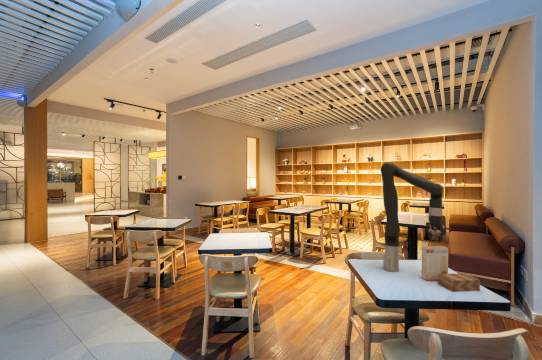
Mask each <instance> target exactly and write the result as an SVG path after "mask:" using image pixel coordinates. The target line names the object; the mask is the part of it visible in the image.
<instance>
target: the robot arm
mask: <svg viewBox="0 0 542 360" xmlns="http://www.w3.org/2000/svg"><path fill="white" fill-rule="evenodd" d="M380 173H381V178H382V193H383V194H382V195H383V207H384V210H385V215H386V223H385V226H384V254H383V256H382V257H383V258H382V260H383V263H382V269H384V270H385V271H387V272H399V270H400V238H399V237H400V233H401V227H400V221H399V198H398V197H399V196H398V191H397V188H396V185H395V180H394V179H395V178H394V177H396V178H399V179H401V180H402V181H405V182H407V183H408V184H410V185H411V186H414V187H417V188H419V189H421V190H424V191H425V192H427V193H430V198H429V201H428V203H429V204H428V207H429V208H428V222H425V231H426V232H427V237H428V239H430V240H431V239H433V231H435V232H436V233H437V235H438V236H437V237H438V238H437V241H438V242H439V243H442V242H443V236H446V233H447V231H446V225H442V223H443V194H444V188H443V186H442V185H441V184H440V183H436V182H433V181H431V180H429V179H426V178H425V177H422V176H420V175H418V174H415V173H412V172H410V171H407V170H405V169H403V168H401V167H399V166H398V165H396V164H395V163H393V162H385V163H383V164H382V165H381V167H380Z"/></svg>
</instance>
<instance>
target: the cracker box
mask: <svg viewBox="0 0 542 360" xmlns="http://www.w3.org/2000/svg"><path fill="white" fill-rule="evenodd" d="M438 274H449V247H446V246H444V245H421V279H423V280H425V281H428V282H430V281H433V282H434V281H435V282H438Z"/></svg>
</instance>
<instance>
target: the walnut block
mask: <svg viewBox="0 0 542 360" xmlns="http://www.w3.org/2000/svg"><path fill="white" fill-rule="evenodd" d="M437 285H438V286H440V287H443V288H445V289H446V290H448V291H450V292H469V291H470V292H471V291H480V290H481V289H480V288H481V279H479V278H476V277H474V276H471V275H469V274H466V273H464V272H463V273H448V274H438V281H437Z"/></svg>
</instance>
